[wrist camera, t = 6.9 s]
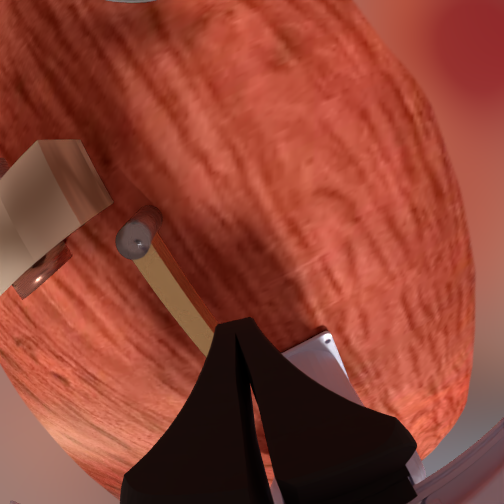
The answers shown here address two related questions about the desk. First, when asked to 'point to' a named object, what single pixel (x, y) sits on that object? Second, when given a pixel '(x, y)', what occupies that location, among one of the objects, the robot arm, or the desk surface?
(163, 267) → the bar
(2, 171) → the pin
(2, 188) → the hitch block
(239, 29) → the desk surface
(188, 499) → the robot arm
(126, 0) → the ceramic mug
